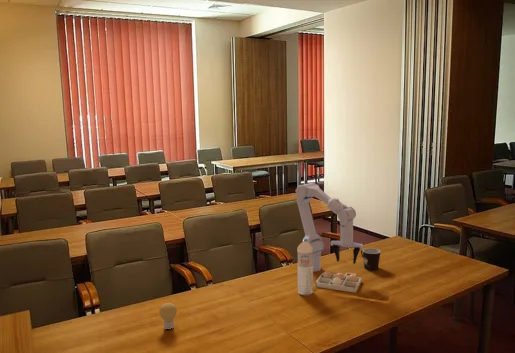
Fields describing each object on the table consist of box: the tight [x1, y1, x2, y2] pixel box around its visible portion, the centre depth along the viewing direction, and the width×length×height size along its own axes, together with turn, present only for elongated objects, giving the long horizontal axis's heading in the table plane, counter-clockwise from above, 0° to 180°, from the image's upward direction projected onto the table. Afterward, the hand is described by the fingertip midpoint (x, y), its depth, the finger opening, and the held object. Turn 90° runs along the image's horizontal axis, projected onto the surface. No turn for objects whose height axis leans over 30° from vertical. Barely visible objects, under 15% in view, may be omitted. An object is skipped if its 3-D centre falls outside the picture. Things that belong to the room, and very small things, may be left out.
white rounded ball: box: [332, 277, 342, 286], centre depth 197 cm, size 4×4×4 cm
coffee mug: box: [360, 247, 381, 271], centre depth 219 cm, size 12×9×10 cm
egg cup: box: [344, 272, 357, 276], centre depth 209 cm, size 6×6×2 cm
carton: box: [314, 270, 362, 294], centre depth 200 cm, size 18×12×5 cm
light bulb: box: [158, 302, 178, 330], centre depth 166 cm, size 6×6×10 cm
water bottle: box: [296, 238, 314, 297], centre depth 192 cm, size 7×7×25 cm
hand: (346, 261), depth 203 cm, fingers open, 7 cm apart
